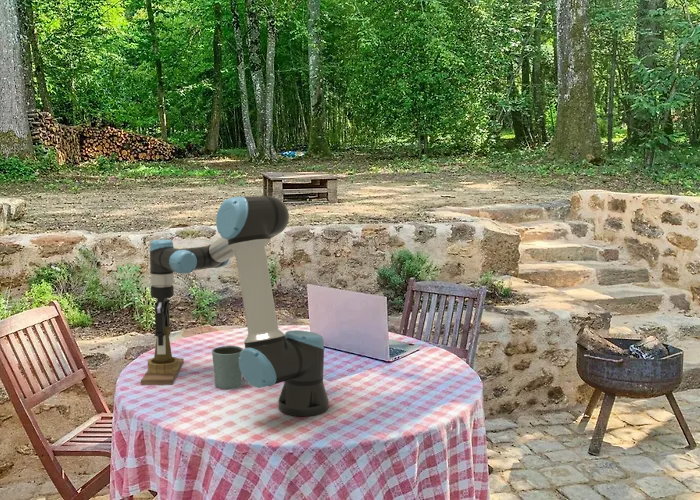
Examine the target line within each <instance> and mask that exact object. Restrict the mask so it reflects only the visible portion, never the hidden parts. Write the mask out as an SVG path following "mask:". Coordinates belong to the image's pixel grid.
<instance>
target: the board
mask: <svg viewBox="0 0 700 500" xmlns="http://www.w3.org/2000/svg"><path fill="white" fill-rule="evenodd" d="M183 364H185V361H184V358H181V357H180V358H178V357H175V356H172V358H171V359H169V360H163V361H160V360H155V359H154V357H151V358H150V359H148V360H147V371H146V372H145V374H144V375H143V377H142V378H141V379H140V386H172V385H173V384H174V382H175V380H176V378H177V376H178V375H179V372H180V370H181V369H182V366H183Z"/></svg>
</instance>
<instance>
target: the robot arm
mask: <svg viewBox="0 0 700 500" xmlns="http://www.w3.org/2000/svg"><path fill="white" fill-rule="evenodd" d="M289 219H290V213H289V210H288V207H287V206H286V204H285V202H283V201H282V200H281V199H279V198H277V197H275V196H270V195H269V196H268V195H263V196H260V195H259V196H254V195H251V196H249V195H248V196H241V195H240V196H236V197H235V196H234V197H229V198H226V199H225V200H224V201H223V202H222V203H221V204H220V206H219V209H218V210H217V214H216V219H215V223H216V229H217V232H218V234H219V235H220V237H219V238H218V239H216V240H215V241H214V242H212V243H209V245H206V246H197V247H186V248H176V247H174V242H173V241H172V240H171V239H154V240H151V242H150V243H149V244H150V245H149V246H150V247H149V270H150V275H148V278H149V279H150V297H151V298H153V299H156V302H155V304H154V305H155V306H154V314H155V315H154V317H155V320H154V321H155V323H154V324H155V329H156V333H155V332H154V337H156V338H157V354H166V340H165V326H167V327H169V328H170V330H171V329H172V327H171V326H170V325H171V324H170V302H171V301H170V298H172V297H174V294H175V289H174V286H173V284H175V282H174V277H175V276H174V272H175V273H177V274H185V275H186V274H190V273H191V272H193V271H197V270H206V269H207V270H209V269H219V268H221V267H225V266H227V265H228V262H229V261H230V259H232V258H233V257H235V259H236V266H237V272H238V278H239V284H240V292H241V297H242V304H243V308H244V310H243V311H244V316H245V320H246V328H247V334H248V335H247V337H246V338H245V339H244V341H243V342H244V349H243V351H241V353H240V357H239V368H240V371H241V373H242V378H244V380H245V381H246V382H247V383H248V384H249V385H250V386H252V387H255V388H257V389H261V388H266V387H273V386H274V385H276V384H280V383H282V382H283V386H282V388H281V392H280V394H279V397H278V403H277V406H278V407H277V408H278V410H279V411H281V413H284V414H286V415H290V416H296V417H312V416H317V415H321V414H323V413H325V412H326V411H328V409H329V404H330V403H329V398H328V397H329V396H328V394H327V390H326V388H325V384H324V363H325V360H324V359H325V356H324V355H325V354H324V353H325V345H324V341H325V340H324V337H323V336H322V335H321V334H320V333H316V332H312V331H307V330H288V331H286V332H285V333H284V332H283V331H281V330H280V329H279V325H278V324H279V323H278V319H277V313H276V308H275V307H276V306H275V300H274V296H273V289H272V281H271V276H270V270H269V263H268V258H267V253H266V252H267V251H266V246H267V244H268V243H269V241H270V239H273V238H274V237H277V235H280V234H281V233H282V232H284V231H285V230H286V228H287V226H288V224H289V222H290V221H289Z"/></svg>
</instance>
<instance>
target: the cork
mask: <svg viewBox="0 0 700 500" xmlns="http://www.w3.org/2000/svg"><path fill="white" fill-rule="evenodd" d="M170 328H171V327H170V326H169V327H167V326H165V340H166V354H157V337H156V338H155V347H154V357H153V358H154V359H155V360H160V361H163V360H169V359H171V358H172V357H173V355H172V354H173V353H172V350H171V349H172V348H171V341H170V340H171V339H170V335H171V330H170ZM155 333H156V328H155V329H154V334H155Z"/></svg>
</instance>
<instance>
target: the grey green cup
mask: <svg viewBox="0 0 700 500" xmlns="http://www.w3.org/2000/svg"><path fill="white" fill-rule="evenodd" d="M211 350H212V351H211V353H212V363H213V372H214V386H215V387H216V388H217V389H220V390H234V389H238V388H241V386H242V382H243V375H242V373H241V371H240V368H239V357H240V353H241V351H243V350H244V349H243V348H242V347H241V346H237V345H224V346H218V347H215V348H213V349H211Z"/></svg>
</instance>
